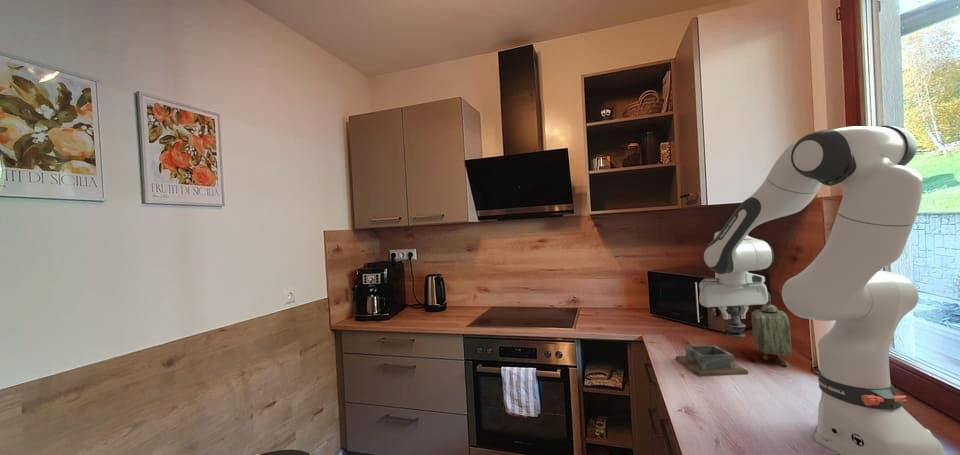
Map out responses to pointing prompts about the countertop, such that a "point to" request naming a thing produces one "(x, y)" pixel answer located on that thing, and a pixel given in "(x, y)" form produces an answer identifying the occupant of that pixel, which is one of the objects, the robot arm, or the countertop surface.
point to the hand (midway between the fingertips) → (734, 318)
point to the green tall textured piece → (771, 331)
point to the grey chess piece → (734, 323)
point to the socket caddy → (710, 361)
